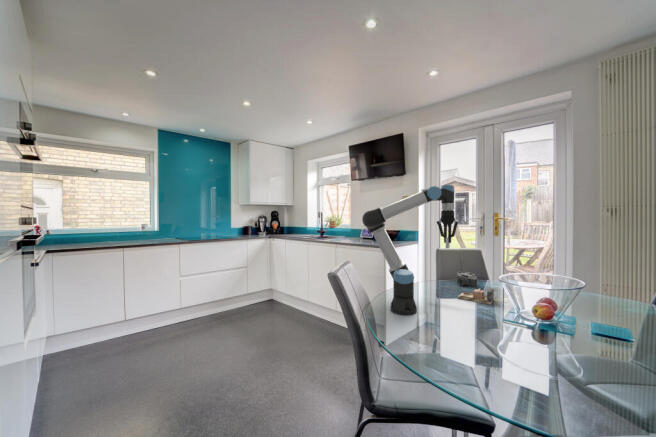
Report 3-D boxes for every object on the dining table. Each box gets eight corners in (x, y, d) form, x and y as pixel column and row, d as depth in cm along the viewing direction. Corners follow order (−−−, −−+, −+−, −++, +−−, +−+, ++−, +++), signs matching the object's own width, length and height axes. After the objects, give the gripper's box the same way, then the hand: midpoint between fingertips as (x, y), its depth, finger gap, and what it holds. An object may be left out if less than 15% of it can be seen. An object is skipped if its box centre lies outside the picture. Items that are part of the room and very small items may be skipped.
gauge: (472, 297, 163) (472, 290, 163) (475, 295, 169) (475, 288, 169) (482, 299, 160) (482, 291, 160) (484, 296, 166) (484, 289, 166)
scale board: (457, 298, 167) (457, 287, 167) (462, 294, 176) (462, 283, 176) (490, 304, 156) (490, 292, 155) (493, 300, 164) (493, 288, 164)
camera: (450, 284, 203) (450, 271, 203) (460, 282, 207) (460, 270, 207) (468, 289, 189) (468, 275, 189) (478, 287, 193) (478, 274, 193)
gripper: (434, 210, 165) (434, 247, 165) (457, 209, 157) (457, 249, 157) (438, 210, 171) (438, 246, 171) (460, 210, 162) (460, 248, 162)
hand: (447, 248), depth 164 cm, fingers closed
